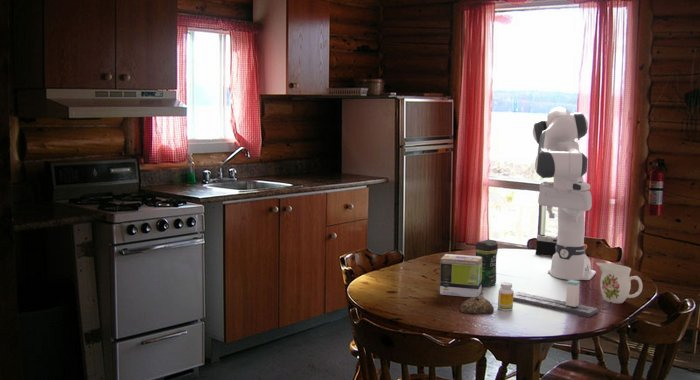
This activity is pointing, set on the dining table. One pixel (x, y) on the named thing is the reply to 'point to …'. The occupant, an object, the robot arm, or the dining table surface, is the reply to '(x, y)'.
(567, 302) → the fader knob
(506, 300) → the supplement bottle
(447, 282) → the tea box
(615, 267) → the pitcher
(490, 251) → the coffee jar
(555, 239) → the camera
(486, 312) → the bread roll
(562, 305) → the fader track
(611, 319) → the dining table surface
